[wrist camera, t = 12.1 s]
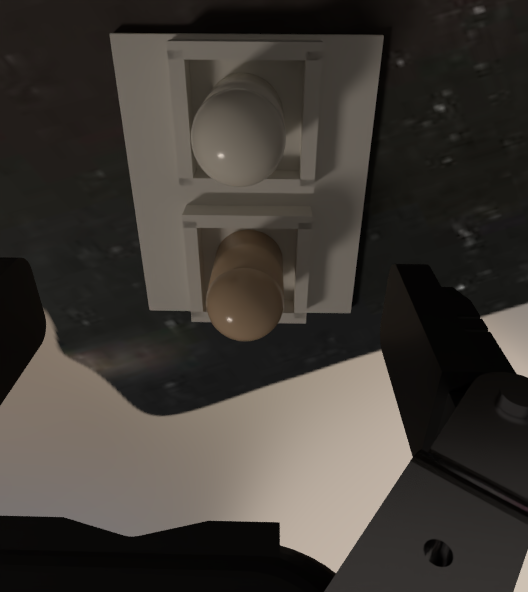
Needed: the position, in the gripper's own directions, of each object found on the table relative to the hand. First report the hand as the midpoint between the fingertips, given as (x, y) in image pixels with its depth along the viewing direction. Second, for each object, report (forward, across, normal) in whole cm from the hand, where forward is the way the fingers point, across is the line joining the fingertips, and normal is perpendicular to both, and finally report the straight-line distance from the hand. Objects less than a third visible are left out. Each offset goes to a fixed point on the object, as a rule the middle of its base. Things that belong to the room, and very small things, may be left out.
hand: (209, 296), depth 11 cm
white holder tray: (+19, 0, +4) cm, 20 cm away
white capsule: (+19, 0, 0) cm, 19 cm away
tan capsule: (+19, 0, +9) cm, 21 cm away
